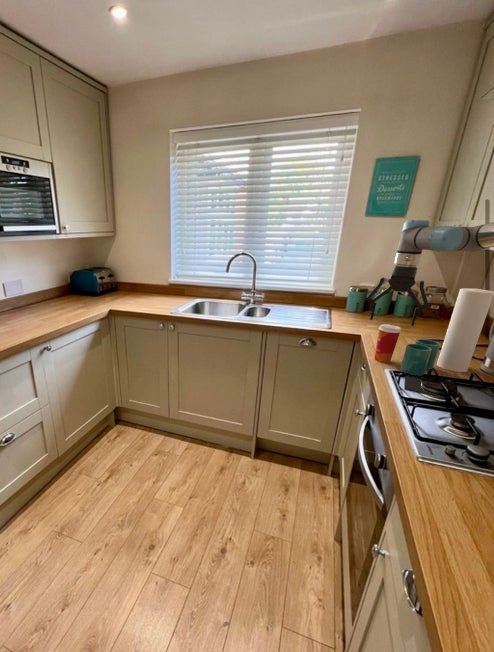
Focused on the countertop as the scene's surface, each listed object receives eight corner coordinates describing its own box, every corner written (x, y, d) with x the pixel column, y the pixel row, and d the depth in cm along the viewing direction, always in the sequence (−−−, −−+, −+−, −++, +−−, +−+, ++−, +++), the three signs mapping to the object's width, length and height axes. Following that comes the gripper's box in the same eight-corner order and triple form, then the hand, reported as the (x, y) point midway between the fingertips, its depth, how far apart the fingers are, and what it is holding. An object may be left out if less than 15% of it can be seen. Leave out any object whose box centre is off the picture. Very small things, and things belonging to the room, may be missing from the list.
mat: (446, 385, 111) (447, 384, 111) (449, 399, 102) (450, 398, 102) (404, 376, 117) (405, 375, 117) (404, 389, 108) (404, 388, 108)
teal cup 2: (432, 366, 128) (439, 341, 124) (433, 372, 122) (441, 346, 118) (409, 361, 132) (416, 337, 128) (409, 367, 126) (416, 342, 122)
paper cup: (376, 355, 138) (383, 322, 133) (396, 360, 132) (405, 327, 127) (368, 359, 133) (375, 326, 128) (388, 365, 127) (397, 330, 123)
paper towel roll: (471, 369, 126) (499, 290, 115) (460, 373, 121) (488, 292, 111) (443, 360, 133) (467, 286, 123) (432, 365, 129) (455, 287, 118)
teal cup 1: (423, 371, 122) (431, 346, 119) (424, 378, 116) (432, 352, 113) (400, 367, 126) (406, 342, 122) (399, 373, 120) (406, 347, 117)
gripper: (366, 263, 123) (354, 318, 131) (449, 269, 110) (430, 330, 118) (368, 262, 129) (356, 315, 136) (447, 267, 116) (430, 325, 124)
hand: (391, 322), depth 127 cm, fingers open, 13 cm apart
